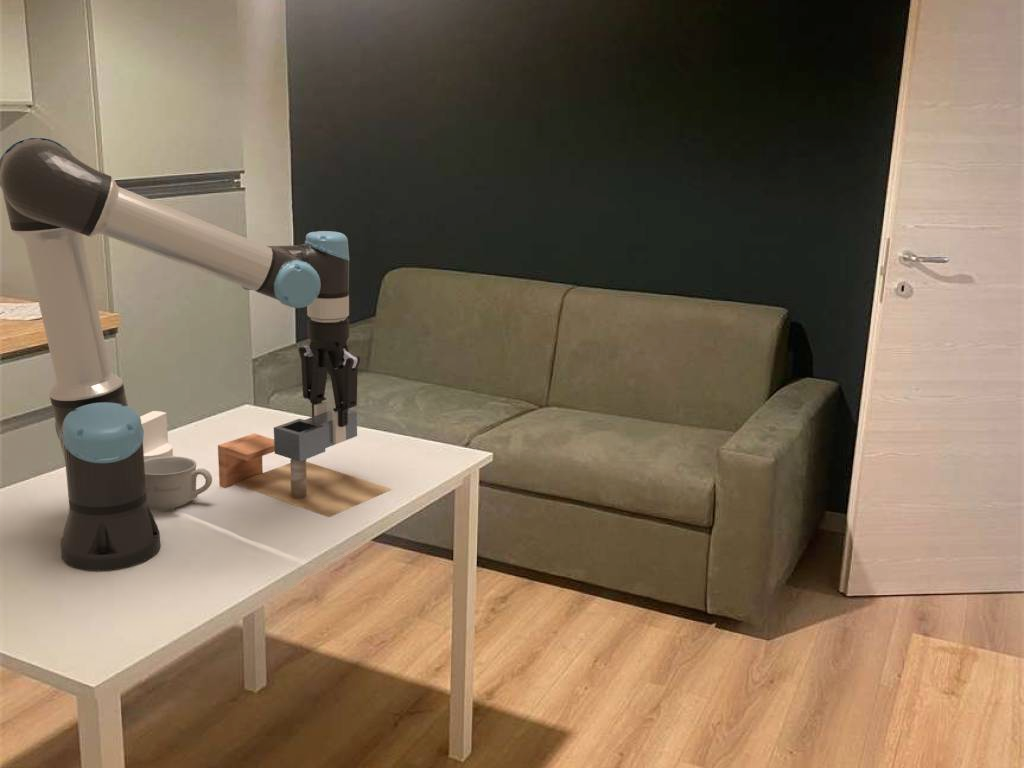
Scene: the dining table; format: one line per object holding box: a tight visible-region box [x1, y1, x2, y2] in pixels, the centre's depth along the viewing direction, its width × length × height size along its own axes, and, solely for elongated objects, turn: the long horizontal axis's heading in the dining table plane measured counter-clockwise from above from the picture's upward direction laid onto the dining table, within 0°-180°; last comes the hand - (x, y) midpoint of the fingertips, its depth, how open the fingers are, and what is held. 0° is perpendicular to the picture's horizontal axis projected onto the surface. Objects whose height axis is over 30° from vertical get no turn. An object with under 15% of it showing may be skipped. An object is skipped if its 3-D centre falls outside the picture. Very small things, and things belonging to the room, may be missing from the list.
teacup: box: [144, 455, 213, 512], centre depth 188 cm, size 14×11×8 cm
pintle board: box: [217, 433, 393, 518], centre depth 198 cm, size 18×28×8 cm, turn 55°
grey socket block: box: [273, 408, 358, 461], centre depth 195 cm, size 16×6×5 cm, turn 145°
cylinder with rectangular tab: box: [140, 410, 174, 460], centre depth 201 cm, size 9×9×12 cm
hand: (330, 439), depth 198 cm, fingers closed on grey socket block, 4 cm apart
